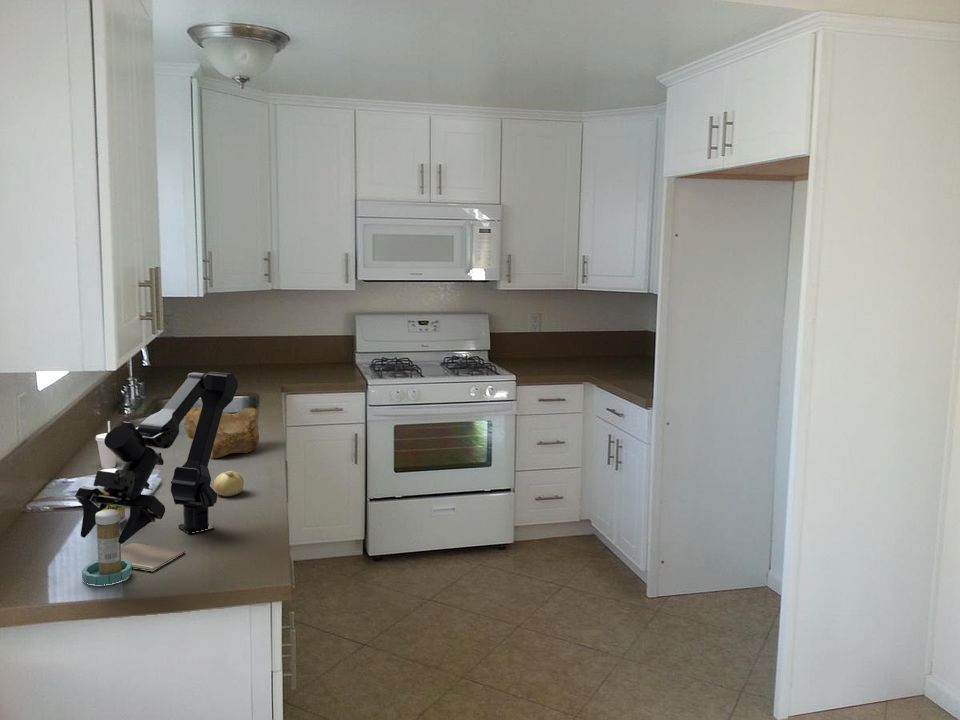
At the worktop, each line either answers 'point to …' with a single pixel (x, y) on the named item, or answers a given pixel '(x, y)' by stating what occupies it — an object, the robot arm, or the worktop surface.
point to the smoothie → (105, 451)
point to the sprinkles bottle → (108, 541)
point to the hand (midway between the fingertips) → (101, 539)
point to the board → (147, 555)
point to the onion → (228, 483)
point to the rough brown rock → (229, 431)
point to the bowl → (92, 575)
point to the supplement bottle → (120, 509)
